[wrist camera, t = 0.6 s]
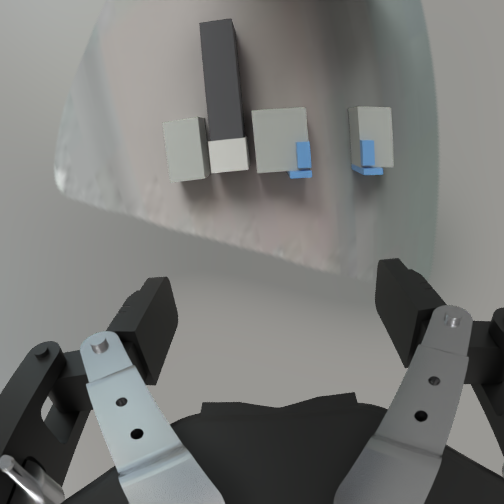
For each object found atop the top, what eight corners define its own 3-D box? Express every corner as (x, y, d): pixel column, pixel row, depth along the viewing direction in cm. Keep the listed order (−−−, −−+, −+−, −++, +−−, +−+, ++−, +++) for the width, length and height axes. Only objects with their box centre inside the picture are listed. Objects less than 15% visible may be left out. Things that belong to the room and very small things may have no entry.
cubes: (172, 123, 31) (159, 122, 27) (378, 108, 30) (394, 107, 26) (179, 182, 34) (168, 190, 29) (381, 168, 32) (396, 174, 28)
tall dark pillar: (204, 34, 27) (196, 22, 23) (236, 30, 27) (233, 17, 23) (217, 167, 33) (211, 173, 29) (249, 164, 33) (248, 169, 29)
